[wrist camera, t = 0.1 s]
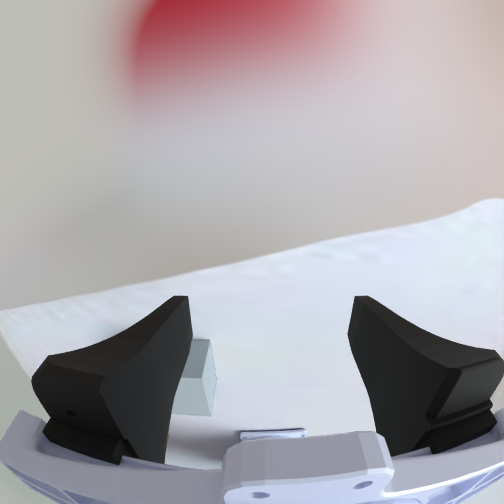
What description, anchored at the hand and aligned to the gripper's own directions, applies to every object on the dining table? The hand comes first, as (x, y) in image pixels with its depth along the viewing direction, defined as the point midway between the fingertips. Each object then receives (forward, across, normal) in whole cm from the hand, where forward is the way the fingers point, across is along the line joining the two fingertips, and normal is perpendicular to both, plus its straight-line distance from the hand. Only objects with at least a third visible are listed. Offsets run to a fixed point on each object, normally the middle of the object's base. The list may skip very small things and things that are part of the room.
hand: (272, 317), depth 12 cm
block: (+10, +7, +12) cm, 17 cm away
